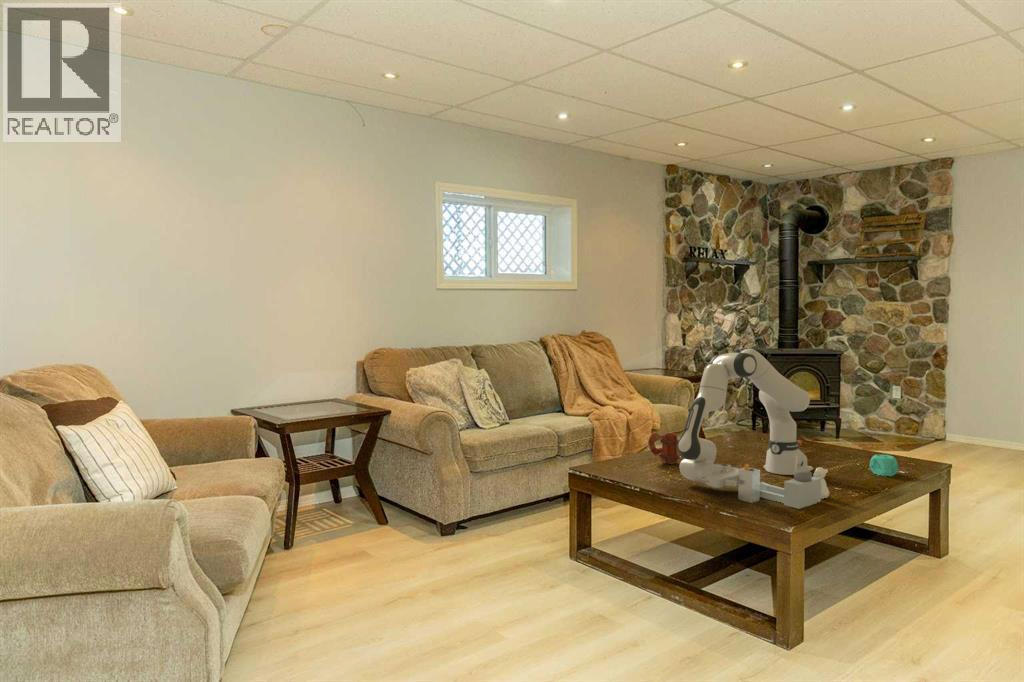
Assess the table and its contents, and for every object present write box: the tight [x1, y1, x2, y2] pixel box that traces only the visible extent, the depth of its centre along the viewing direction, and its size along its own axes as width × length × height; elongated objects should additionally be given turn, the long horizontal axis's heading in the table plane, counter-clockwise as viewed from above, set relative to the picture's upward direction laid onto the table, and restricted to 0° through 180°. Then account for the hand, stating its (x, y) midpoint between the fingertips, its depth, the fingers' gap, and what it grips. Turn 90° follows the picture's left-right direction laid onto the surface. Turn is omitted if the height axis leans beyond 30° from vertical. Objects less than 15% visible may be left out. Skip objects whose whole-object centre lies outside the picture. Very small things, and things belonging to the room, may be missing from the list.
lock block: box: [737, 463, 761, 504], centre depth 262 cm, size 5×6×14 cm
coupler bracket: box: [760, 470, 822, 510], centre depth 264 cm, size 15×25×12 cm, turn 36°
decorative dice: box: [869, 454, 899, 477], centre depth 299 cm, size 8×8×8 cm
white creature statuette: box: [812, 466, 830, 500], centre depth 265 cm, size 10×9×12 cm
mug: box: [648, 431, 681, 465], centre depth 322 cm, size 15×8×15 cm, turn 84°
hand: (744, 482), depth 263 cm, fingers open, 8 cm apart
